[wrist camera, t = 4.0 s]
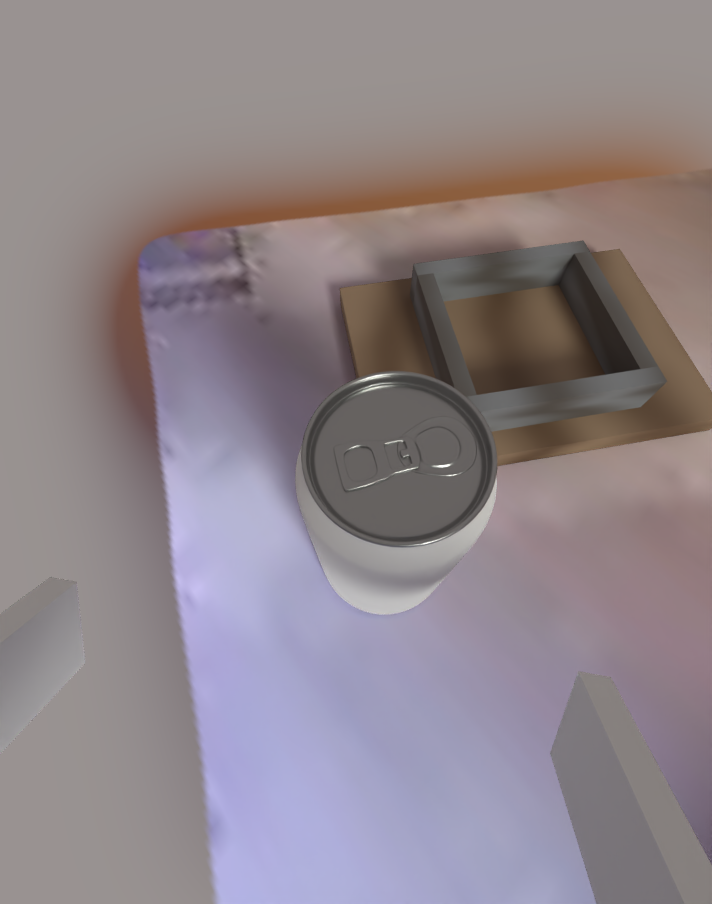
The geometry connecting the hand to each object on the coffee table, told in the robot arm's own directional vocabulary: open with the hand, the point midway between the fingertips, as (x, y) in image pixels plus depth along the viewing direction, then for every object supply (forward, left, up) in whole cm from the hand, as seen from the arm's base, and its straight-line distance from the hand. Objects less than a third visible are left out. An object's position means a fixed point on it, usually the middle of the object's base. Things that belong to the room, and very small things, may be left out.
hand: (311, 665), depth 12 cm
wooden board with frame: (-14, -16, -10) cm, 23 cm away
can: (-3, -5, -11) cm, 12 cm away
